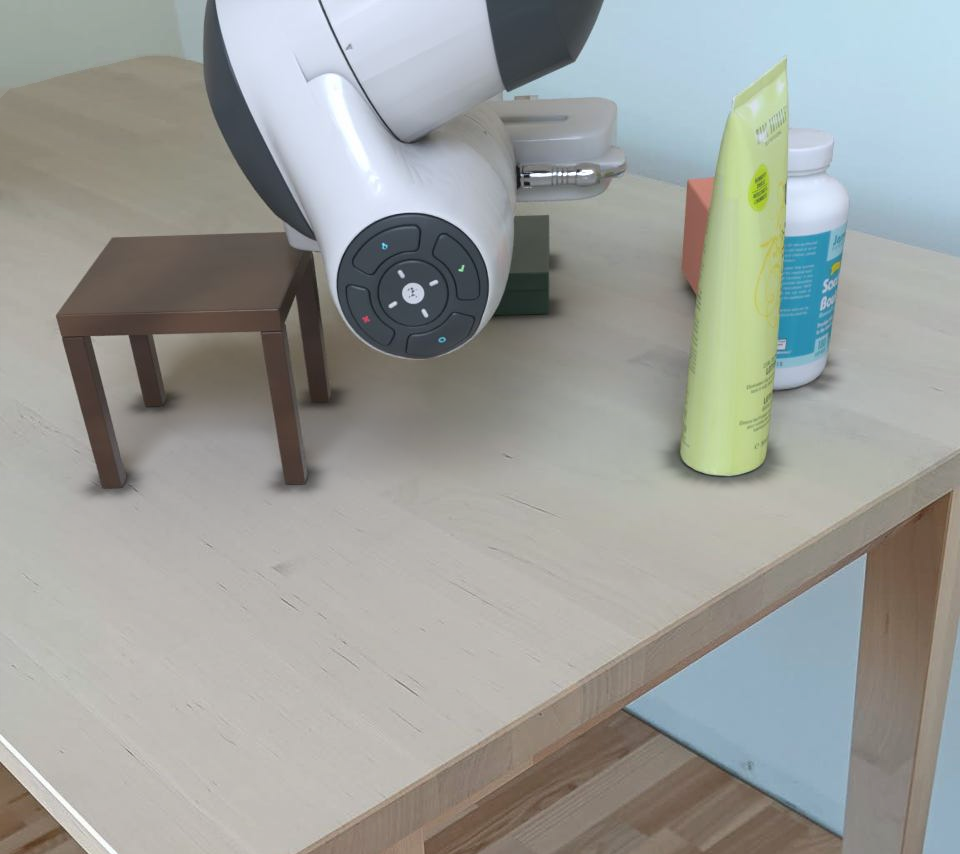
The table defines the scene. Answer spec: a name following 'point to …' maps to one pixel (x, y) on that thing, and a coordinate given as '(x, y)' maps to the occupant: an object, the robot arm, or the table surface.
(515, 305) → the green lidded gift box
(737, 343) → the tube
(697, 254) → the salmon pink upright block
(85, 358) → the small brown table
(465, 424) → the table surface
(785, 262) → the pill bottle
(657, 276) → the table surface
